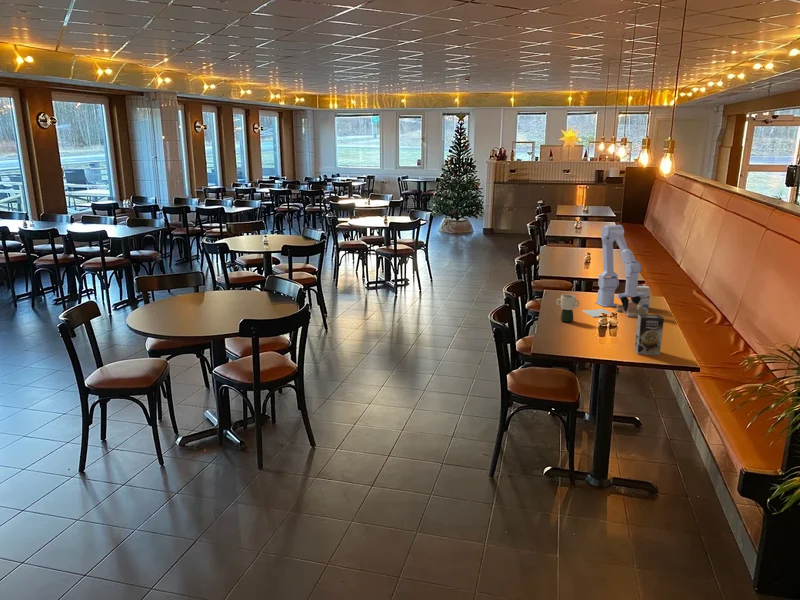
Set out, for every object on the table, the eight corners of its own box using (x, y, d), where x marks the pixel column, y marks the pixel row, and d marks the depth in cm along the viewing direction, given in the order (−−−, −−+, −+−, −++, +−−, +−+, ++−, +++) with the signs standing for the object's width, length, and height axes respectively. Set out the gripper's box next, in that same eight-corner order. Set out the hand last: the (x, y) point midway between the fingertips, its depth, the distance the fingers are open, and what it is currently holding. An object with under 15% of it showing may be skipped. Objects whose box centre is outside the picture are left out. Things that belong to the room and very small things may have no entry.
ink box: (645, 306, 326) (647, 285, 323) (648, 309, 321) (650, 287, 318) (629, 306, 326) (631, 285, 323) (632, 309, 322) (634, 287, 319)
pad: (582, 311, 318) (582, 310, 317) (603, 310, 319) (603, 309, 319) (593, 317, 306) (593, 316, 306) (614, 316, 308) (615, 315, 308)
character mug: (578, 320, 301) (580, 295, 298) (577, 324, 295) (579, 298, 292) (556, 318, 305) (557, 293, 302) (555, 322, 298) (556, 296, 295)
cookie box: (637, 354, 251) (641, 317, 247) (634, 349, 257) (637, 313, 253) (660, 355, 249) (664, 318, 245) (656, 350, 255) (660, 314, 251)
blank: (622, 312, 315) (623, 301, 313) (629, 312, 315) (630, 301, 314) (628, 315, 309) (629, 304, 308) (635, 315, 310) (636, 303, 308)
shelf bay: (616, 311, 317) (616, 304, 316) (635, 310, 319) (636, 303, 318) (627, 317, 306) (628, 310, 305) (647, 315, 308) (648, 309, 307)
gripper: (622, 287, 304) (620, 313, 307) (648, 286, 306) (646, 312, 309) (615, 284, 310) (613, 309, 314) (641, 283, 312) (639, 308, 316)
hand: (629, 310), depth 312 cm, fingers closed on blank, 4 cm apart
